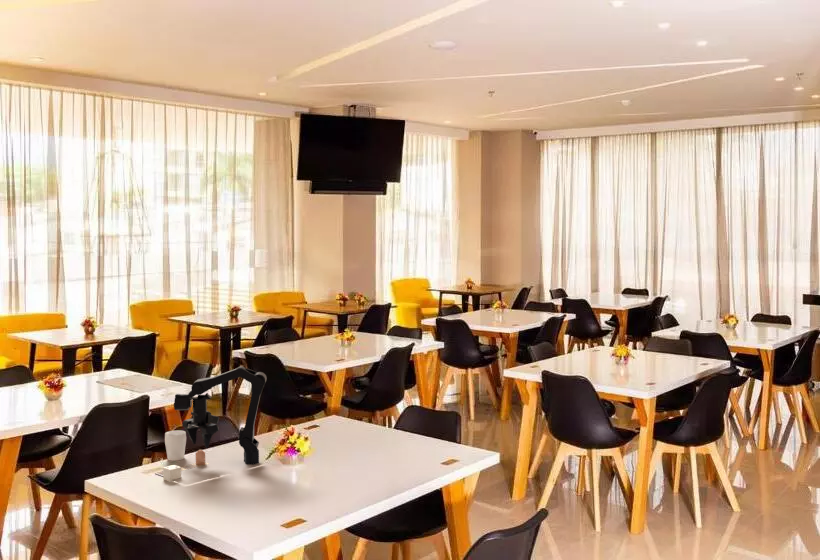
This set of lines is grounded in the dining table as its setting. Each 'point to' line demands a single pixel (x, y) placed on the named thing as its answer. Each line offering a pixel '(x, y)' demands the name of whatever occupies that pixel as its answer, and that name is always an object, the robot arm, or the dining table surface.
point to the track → (184, 467)
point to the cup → (175, 444)
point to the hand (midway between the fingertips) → (200, 445)
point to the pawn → (200, 457)
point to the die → (171, 473)
